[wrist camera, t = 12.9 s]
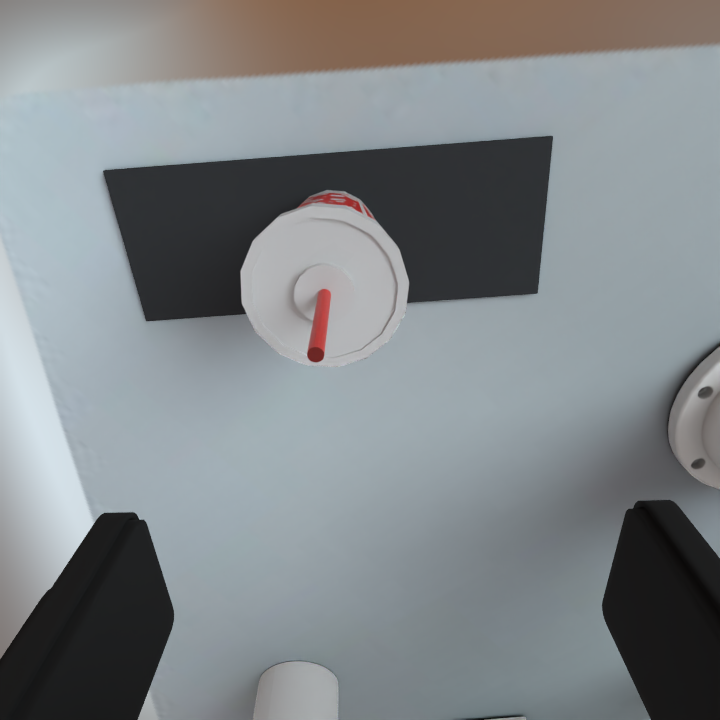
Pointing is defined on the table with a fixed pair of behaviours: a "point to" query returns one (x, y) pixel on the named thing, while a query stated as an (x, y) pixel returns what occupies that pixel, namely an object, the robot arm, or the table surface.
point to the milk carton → (512, 719)
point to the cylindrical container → (297, 693)
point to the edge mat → (358, 178)
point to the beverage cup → (325, 282)
